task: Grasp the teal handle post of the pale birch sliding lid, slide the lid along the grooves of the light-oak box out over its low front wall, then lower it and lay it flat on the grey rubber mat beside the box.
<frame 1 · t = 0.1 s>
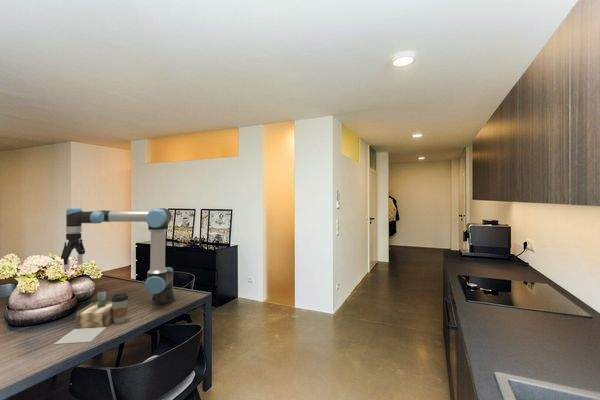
hand: (73, 267, 178), 28 cm above the table, fingers open, 13 cm apart
mat: (82, 335, 148), on the table
lid: (98, 309, 164), point 7 cm above the table, touching box
box: (99, 321, 164), on the table
coffee cup: (119, 321, 165), on the table
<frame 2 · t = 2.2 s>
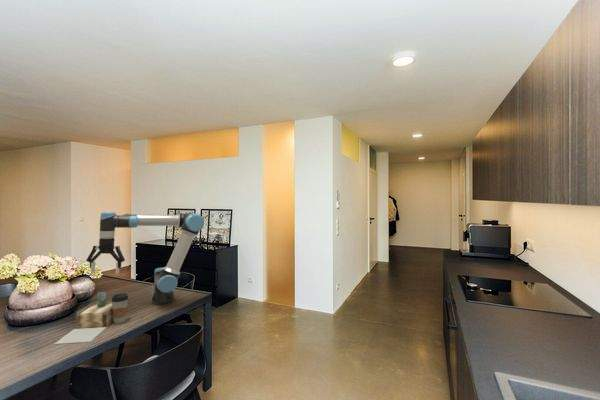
hand: (105, 273, 170), 26 cm above the table, fingers open, 13 cm apart
nothing on the table moved.
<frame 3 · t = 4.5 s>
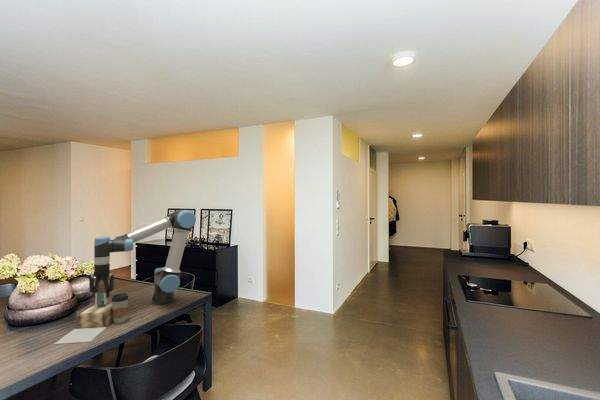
hand: (101, 303, 167), 10 cm above the table, fingers closed on lid, 4 cm apart
lid: (98, 309, 164), point 7 cm above the table, touching box, gripper
everything else where it was.
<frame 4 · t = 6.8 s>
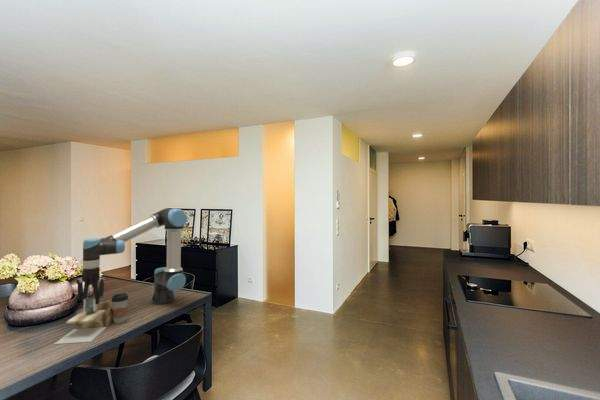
hand: (90, 310, 156), 10 cm above the table, fingers closed on lid, 4 cm apart
lid: (87, 317, 153), point 7 cm above the table, touching gripper
everything else where it was.
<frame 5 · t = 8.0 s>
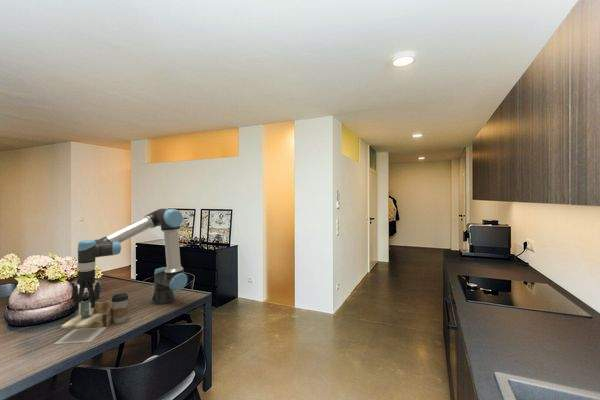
hand: (86, 314, 151), 10 cm above the table, fingers closed on lid, 4 cm apart
lid: (82, 321, 148), point 7 cm above the table, touching gripper
everything else where it was.
when the fingers open (5 cm above the table, at t = 9.1 s): lid drops 2 cm, resting on mat.
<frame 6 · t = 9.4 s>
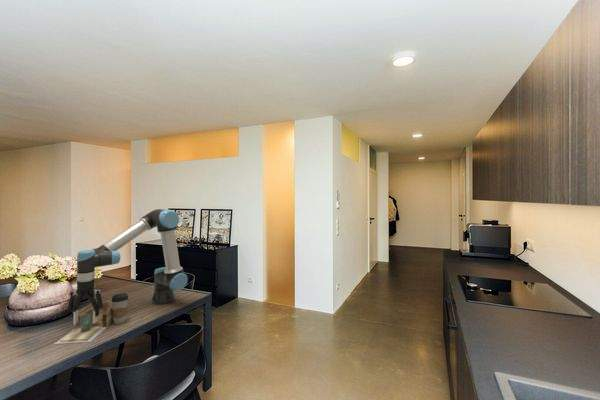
hand: (85, 322, 151), 5 cm above the table, fingers open, 8 cm apart
lid: (82, 334, 148), resting on mat
everything else where it was.
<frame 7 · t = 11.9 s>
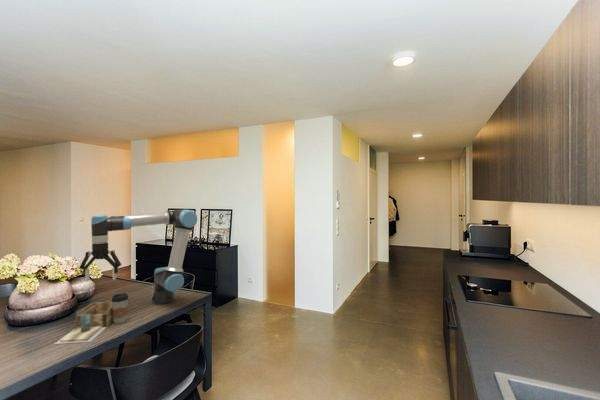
hand: (101, 280, 162), 25 cm above the table, fingers open, 13 cm apart
nothing on the table moved.
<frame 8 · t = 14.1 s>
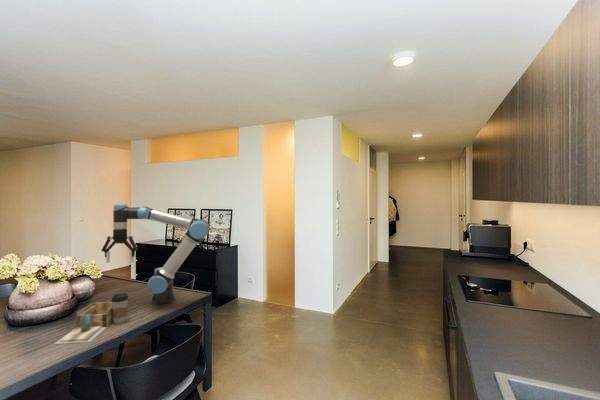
hand: (119, 262, 181), 31 cm above the table, fingers open, 13 cm apart
nothing on the table moved.
at the end: lid inside the target area (2.1 cm from its centre), resting on mat; lid tilted 0°; the gripper is holding nothing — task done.
